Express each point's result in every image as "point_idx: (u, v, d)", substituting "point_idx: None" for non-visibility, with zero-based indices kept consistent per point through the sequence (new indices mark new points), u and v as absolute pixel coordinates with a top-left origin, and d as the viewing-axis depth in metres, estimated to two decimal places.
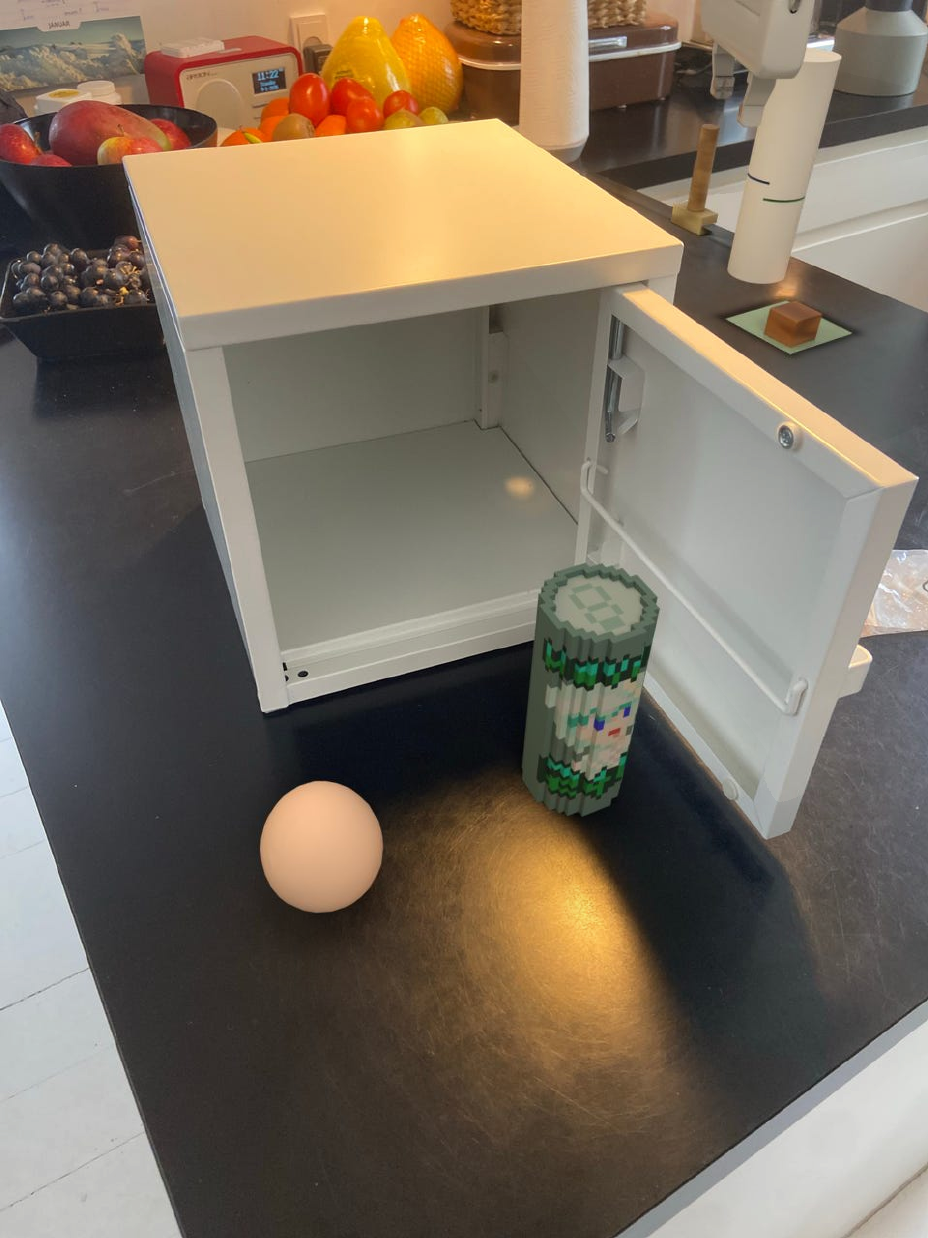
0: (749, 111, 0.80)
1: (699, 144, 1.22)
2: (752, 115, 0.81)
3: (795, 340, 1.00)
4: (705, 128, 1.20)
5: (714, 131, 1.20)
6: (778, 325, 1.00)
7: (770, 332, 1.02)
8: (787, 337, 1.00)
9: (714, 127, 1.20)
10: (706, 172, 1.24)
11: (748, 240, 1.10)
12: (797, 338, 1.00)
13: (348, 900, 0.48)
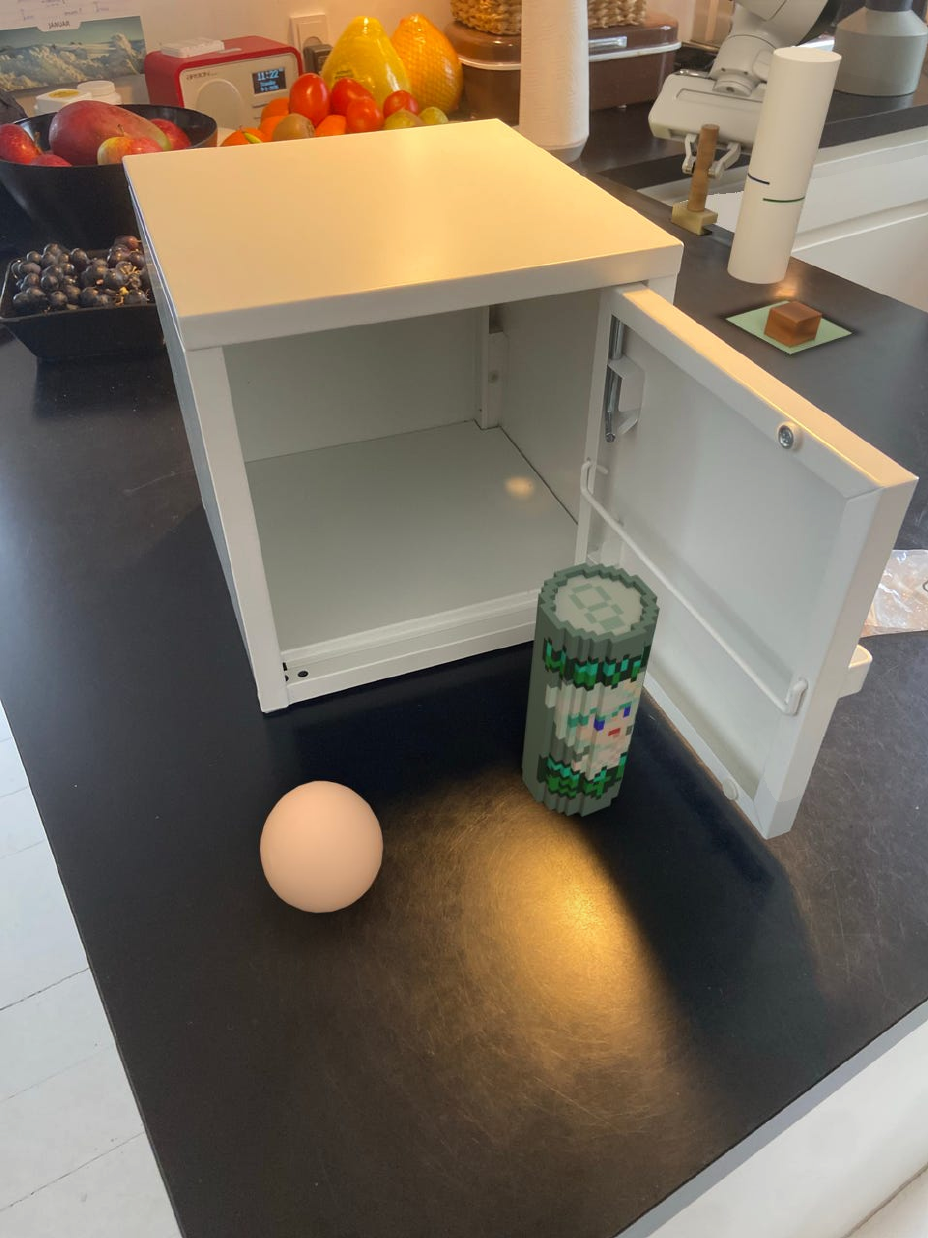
0: None
1: (699, 144, 1.22)
2: None
3: (795, 340, 1.00)
4: (705, 128, 1.20)
5: (714, 131, 1.20)
6: (778, 325, 1.00)
7: (770, 332, 1.02)
8: (787, 337, 1.00)
9: (714, 127, 1.20)
10: (706, 172, 1.24)
11: (748, 240, 1.10)
12: (797, 338, 1.00)
13: (348, 900, 0.48)
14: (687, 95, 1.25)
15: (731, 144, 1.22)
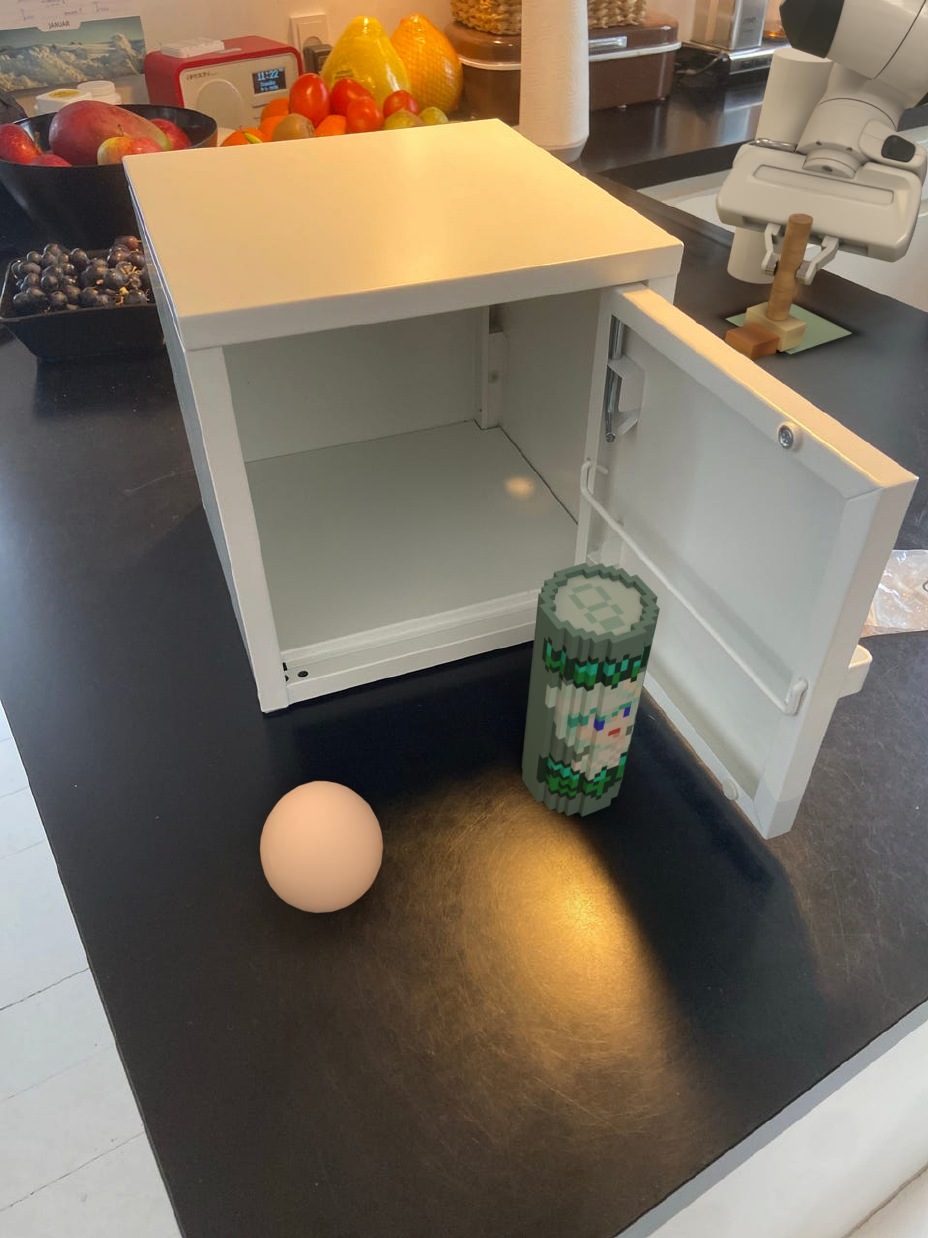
0: None
1: (785, 240, 0.93)
2: None
3: None
4: (795, 221, 0.91)
5: (806, 225, 0.91)
6: (735, 348, 0.99)
7: None
8: None
9: (806, 219, 0.92)
10: (793, 274, 0.95)
11: (748, 240, 1.10)
12: None
13: (348, 900, 0.48)
14: (768, 173, 0.96)
15: (827, 240, 0.93)
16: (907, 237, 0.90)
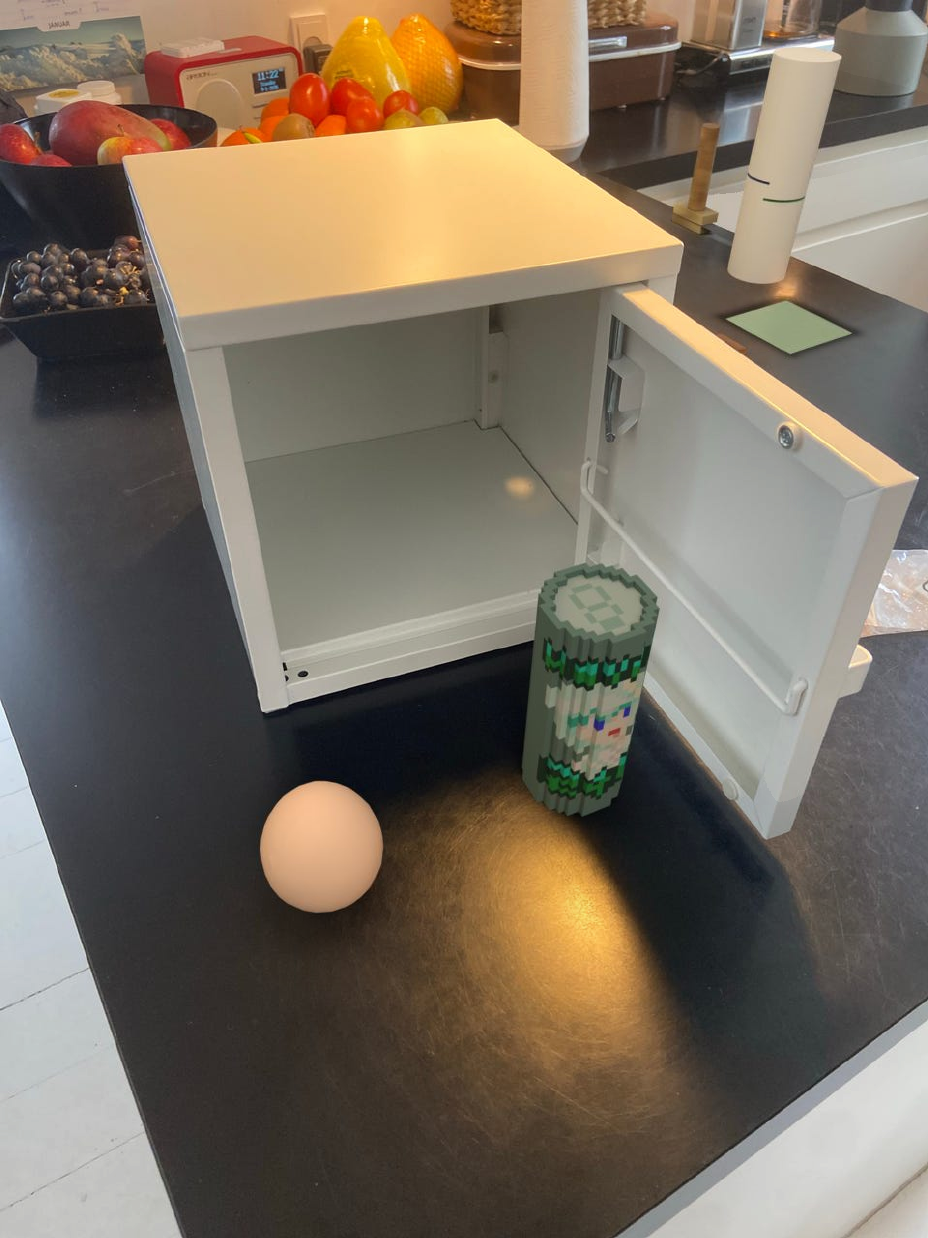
0: None
1: (700, 143, 1.22)
2: None
3: None
4: (706, 127, 1.20)
5: (715, 130, 1.20)
6: None
7: None
8: None
9: (715, 126, 1.21)
10: (707, 171, 1.24)
11: (748, 240, 1.10)
12: None
13: (348, 900, 0.48)
14: None
15: None
16: None
